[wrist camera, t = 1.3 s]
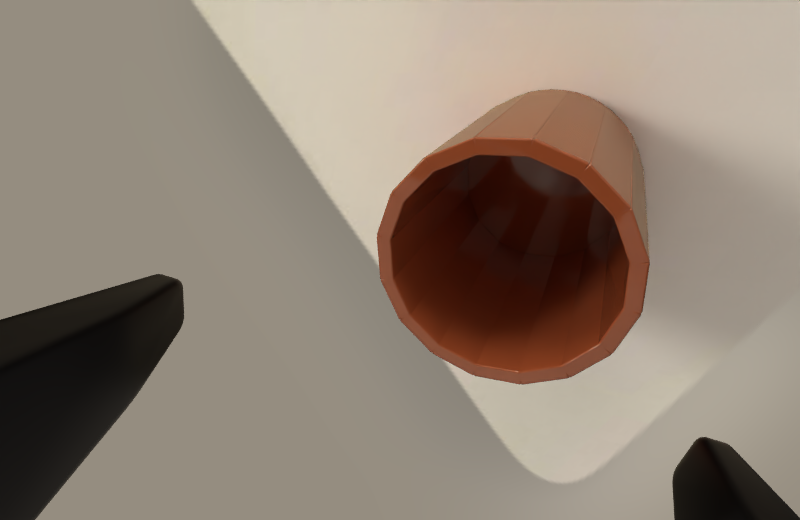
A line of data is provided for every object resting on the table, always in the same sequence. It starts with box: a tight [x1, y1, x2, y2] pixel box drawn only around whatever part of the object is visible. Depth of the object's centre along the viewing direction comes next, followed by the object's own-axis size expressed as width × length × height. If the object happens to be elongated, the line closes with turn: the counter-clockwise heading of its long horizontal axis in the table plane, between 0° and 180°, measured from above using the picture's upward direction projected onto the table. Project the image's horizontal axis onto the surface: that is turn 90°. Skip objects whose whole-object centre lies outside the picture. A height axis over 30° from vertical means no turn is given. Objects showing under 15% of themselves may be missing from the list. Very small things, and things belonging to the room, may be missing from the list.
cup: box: [377, 89, 650, 384], centre depth 16 cm, size 6×6×8 cm
